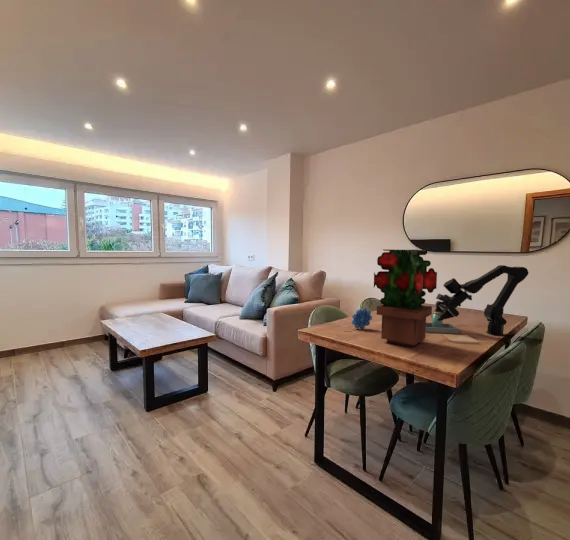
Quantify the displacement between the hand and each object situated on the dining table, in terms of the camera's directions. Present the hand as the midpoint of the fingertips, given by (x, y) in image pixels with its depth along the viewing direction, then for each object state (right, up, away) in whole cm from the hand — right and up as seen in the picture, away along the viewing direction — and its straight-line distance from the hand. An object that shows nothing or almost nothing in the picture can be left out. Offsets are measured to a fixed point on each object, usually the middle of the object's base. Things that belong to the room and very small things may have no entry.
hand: (434, 318), depth 166 cm
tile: (+5, -8, -16) cm, 18 cm away
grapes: (-40, -7, +5) cm, 41 cm away
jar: (+1, -7, 0) cm, 7 cm away
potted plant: (-26, -8, -21) cm, 34 cm away
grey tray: (+1, -7, 0) cm, 7 cm away
